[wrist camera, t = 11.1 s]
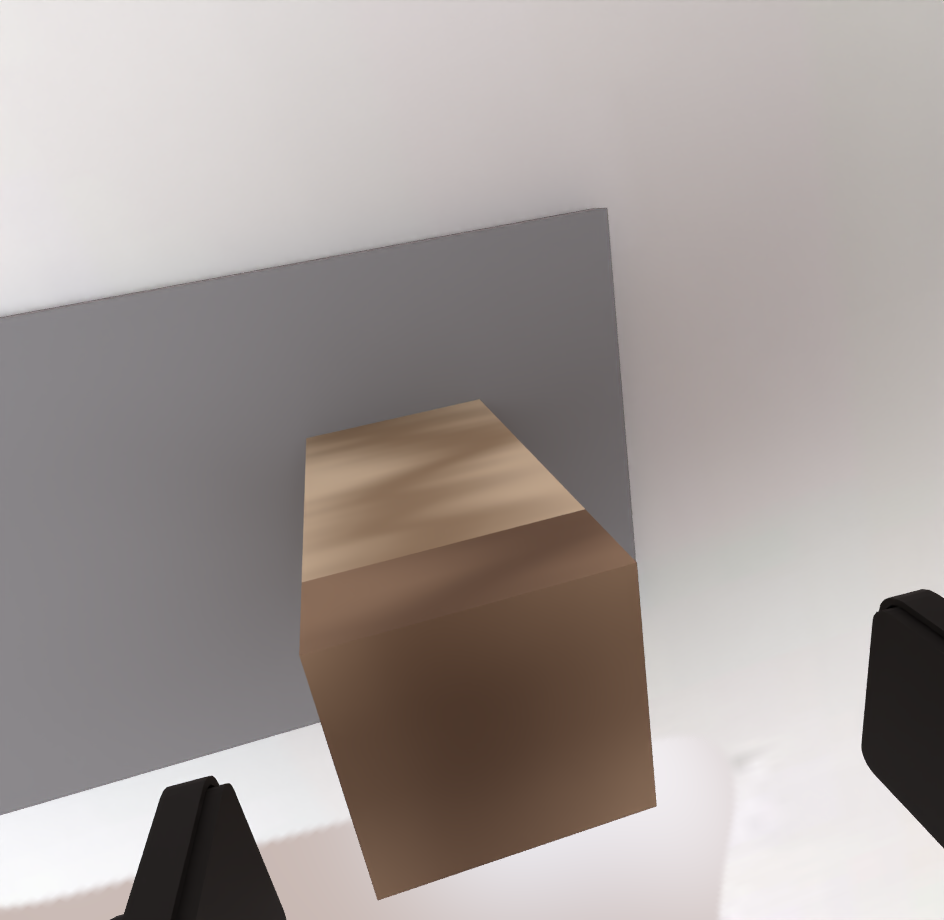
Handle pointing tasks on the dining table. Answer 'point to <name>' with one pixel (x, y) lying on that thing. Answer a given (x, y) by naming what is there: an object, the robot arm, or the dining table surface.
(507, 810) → the maple block
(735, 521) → the dining table surface
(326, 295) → the mat
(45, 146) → the dining table surface
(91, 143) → the dining table surface
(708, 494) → the dining table surface
